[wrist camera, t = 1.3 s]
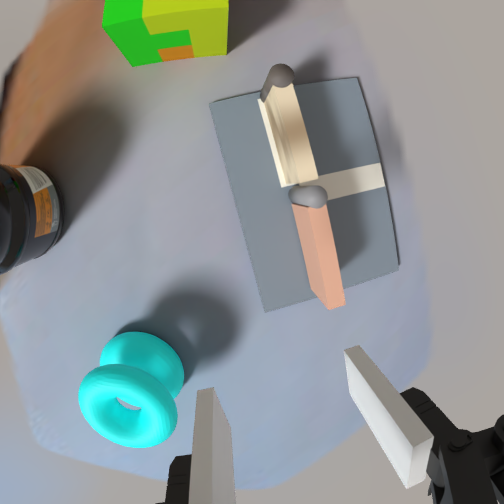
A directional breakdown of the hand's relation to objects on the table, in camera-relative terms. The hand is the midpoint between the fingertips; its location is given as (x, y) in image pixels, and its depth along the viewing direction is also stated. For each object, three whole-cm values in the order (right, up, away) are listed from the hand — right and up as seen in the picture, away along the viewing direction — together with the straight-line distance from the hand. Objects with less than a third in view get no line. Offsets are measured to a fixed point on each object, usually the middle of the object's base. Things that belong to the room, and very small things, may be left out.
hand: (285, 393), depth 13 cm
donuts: (-14, -7, +21) cm, 26 cm away
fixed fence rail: (+1, +18, +16) cm, 24 cm away
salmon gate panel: (+4, +8, +18) cm, 20 cm away
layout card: (+5, +13, +18) cm, 23 cm away
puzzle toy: (-10, +31, +14) cm, 35 cm away
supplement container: (-27, +11, +16) cm, 33 cm away
